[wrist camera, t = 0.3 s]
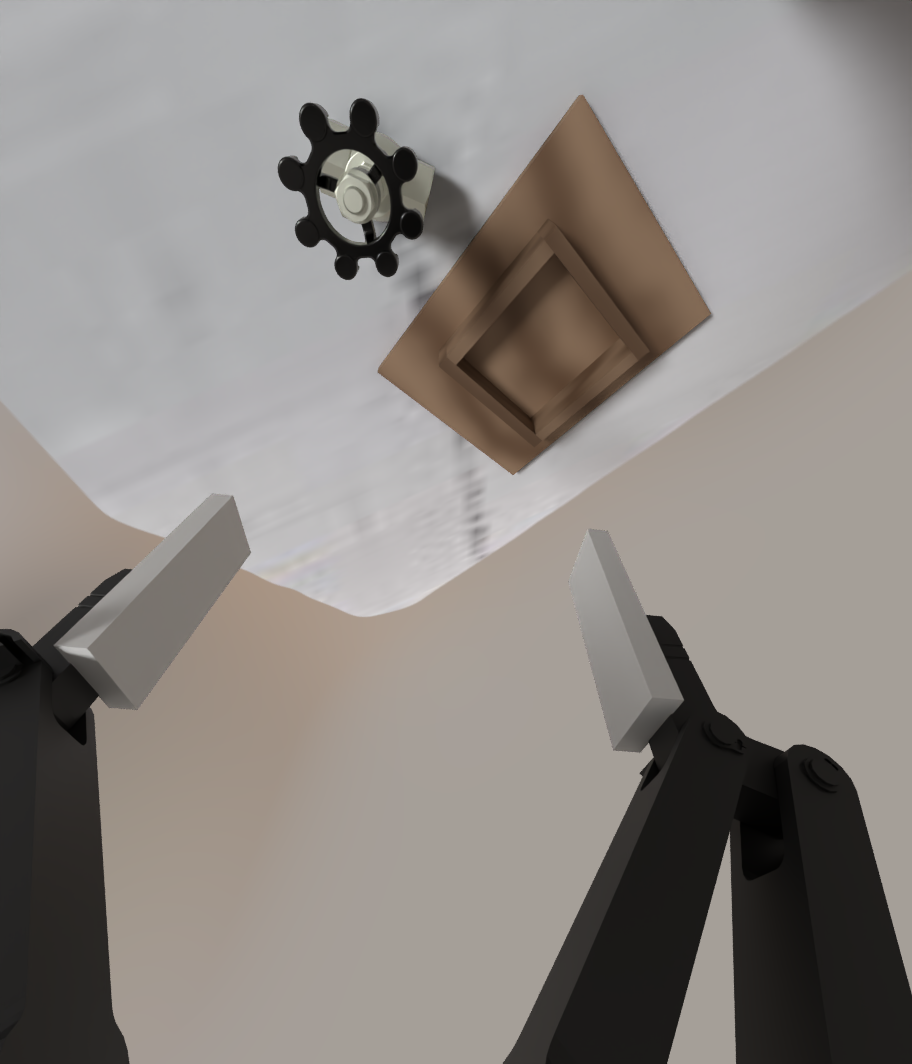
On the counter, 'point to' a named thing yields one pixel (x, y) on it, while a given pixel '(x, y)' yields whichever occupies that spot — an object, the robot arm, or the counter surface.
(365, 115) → the valve
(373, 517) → the counter surface
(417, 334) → the dock board
